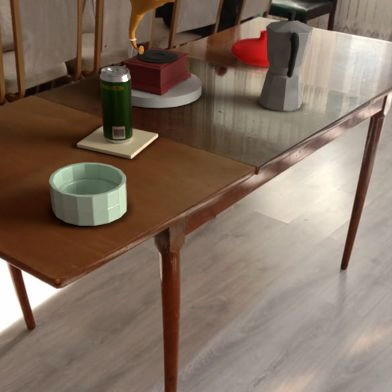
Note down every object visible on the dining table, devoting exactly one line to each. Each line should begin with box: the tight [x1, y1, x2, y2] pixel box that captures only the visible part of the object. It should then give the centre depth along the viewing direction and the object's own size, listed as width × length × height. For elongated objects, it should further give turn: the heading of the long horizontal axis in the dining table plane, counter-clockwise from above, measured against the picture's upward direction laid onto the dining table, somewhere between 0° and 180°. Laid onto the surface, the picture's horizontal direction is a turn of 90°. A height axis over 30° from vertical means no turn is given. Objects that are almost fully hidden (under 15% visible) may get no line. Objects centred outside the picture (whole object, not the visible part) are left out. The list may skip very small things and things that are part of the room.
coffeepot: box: [258, 9, 314, 112], centre depth 127 cm, size 15×9×18 cm, turn 2°
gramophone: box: [122, 0, 202, 109], centre depth 129 cm, size 20×20×25 cm
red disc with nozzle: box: [230, 29, 269, 68], centre depth 152 cm, size 16×16×7 cm
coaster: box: [76, 125, 159, 160], centre depth 116 cm, size 11×11×1 cm
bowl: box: [48, 162, 128, 227], centre depth 95 cm, size 11×11×5 cm
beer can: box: [99, 65, 134, 144], centre depth 111 cm, size 5×5×12 cm
